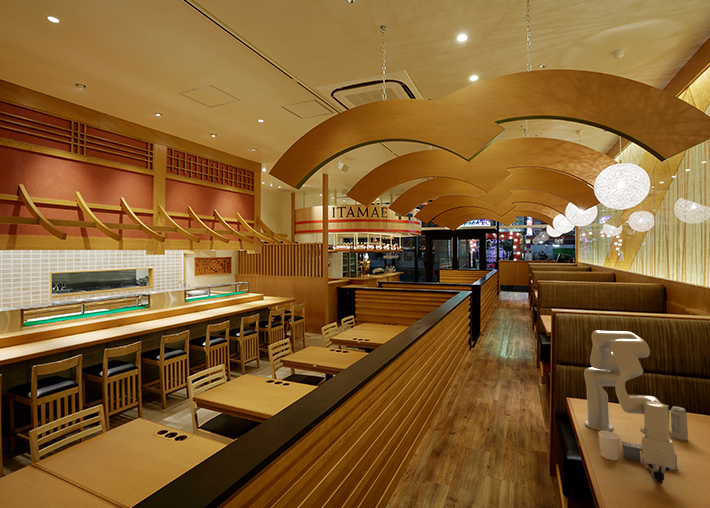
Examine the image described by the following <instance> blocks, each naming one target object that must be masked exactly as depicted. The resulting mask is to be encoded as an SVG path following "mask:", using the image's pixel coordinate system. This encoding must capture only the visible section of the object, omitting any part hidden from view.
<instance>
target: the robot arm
mask: <svg viewBox="0 0 710 508" xmlns="http://www.w3.org/2000/svg"><path fill="white" fill-rule="evenodd" d="M591 342H592V348H591V353H590V357H589V358H590V359H589V363H590V366H591V367H586V368H585V369H584V372H583V376H584V380H585V381H584V382H585V387H586V403H587V404H586V405H587V419H585V420H584V425H585V426H586V427H587V428H590V429H592V430H595V431H598V432H599V431H610V432H612V431H613V429H614V428H613V426H614V425H612V424H610V413H609V396H608V392H607V391H606V390H605V388H604V387H615V394H616V396H617V400H618V402H619V405H620V407H621V409H622V410H623V411H624V412H626V413H627V414H630V415H631V414H632V415H636V414H637V415H643V417H644V418H643V419H644V421H643V423H644V428H640V430H639V431H640V433H643V435H642V437H641V445H642V447H641V451H640V455H641V458H640V459H641V463H642V464H643V465H644V464H646V465H649V466H650V467H651V468H652V469H653V471H654V478H655V479H656V480H657V483H660V484H663V483H664V481H665V473H666V472H667V471H669V470H671V471H672V470H677V469H676V459H675V453H676V452H675V447H674V443H673V441H672V440H671V439H670V419H669V420H668V408H667V407H666V405H667V404H664V403H661V401H660V400H659V399H658V398H657V397H655V396H653V395H646V394H644V395H643V394H628V392H627V389H626V386H625V385H626V382H627V381H630V380H632V379H635V378H637V377H640V376H641V375H642V374H643V373H644V369H643V367H642V364H641V362H640V360H639V359H640V358H641V359H643V358H644V359H645V358H648V357H649V356H650V354H651V353H650V352H651V349H650V347H649V344H648V343H647V342H646V341H645V340H644V339H643V338H641V337H640V336H638V334H637V335H636V334H635V333H633V332H632V331H627V330H625V331H623V330H622V331H621V330H620V331H619V330H599V329H597V330H594V331H592V333H591ZM656 465H658V466H659V470H658V469H657V466H656Z"/></svg>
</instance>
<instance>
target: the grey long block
mask: <svg viewBox="0 0 710 508" xmlns="http://www.w3.org/2000/svg"><path fill="white" fill-rule="evenodd" d="M621 447H622V448H621V451H622V453H621V454H622V458H623V457H624V458H625V459H624V458H623V459H624V460H627V459H630V460H629V461H632V460H634V461H633V462H638V461H639V463H642V461H641V459H642V458H641V447H642V444H638V443H633V442H626V441H621ZM677 458H678V457H677V454H676V452H675V459H676V470H678V459H677Z"/></svg>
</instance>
